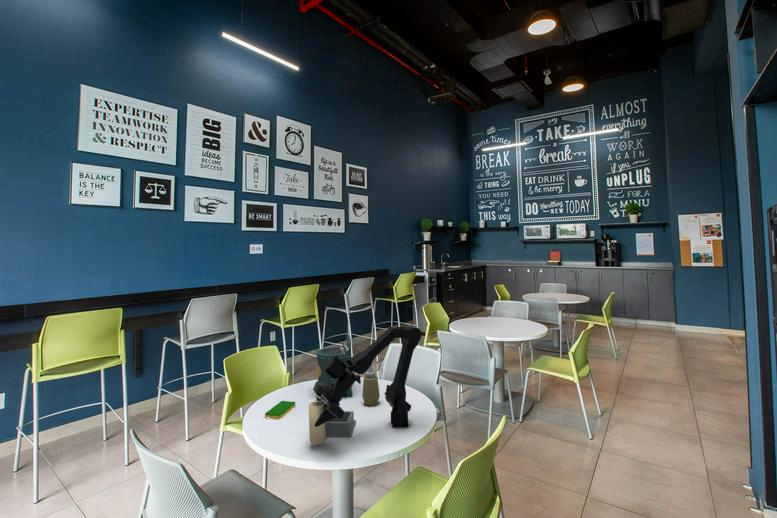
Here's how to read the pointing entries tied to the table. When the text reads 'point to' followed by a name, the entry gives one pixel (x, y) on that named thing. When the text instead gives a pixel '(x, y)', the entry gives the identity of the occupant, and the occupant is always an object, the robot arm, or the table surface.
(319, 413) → the paper roll
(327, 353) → the dark green canister
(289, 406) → the dish sponge
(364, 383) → the squeeze bottle
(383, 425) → the table surface
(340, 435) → the square tray
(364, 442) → the table surface
